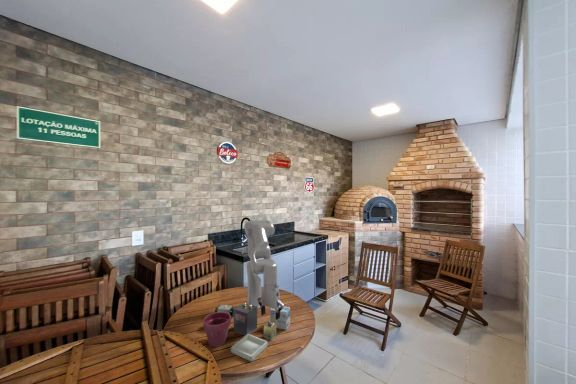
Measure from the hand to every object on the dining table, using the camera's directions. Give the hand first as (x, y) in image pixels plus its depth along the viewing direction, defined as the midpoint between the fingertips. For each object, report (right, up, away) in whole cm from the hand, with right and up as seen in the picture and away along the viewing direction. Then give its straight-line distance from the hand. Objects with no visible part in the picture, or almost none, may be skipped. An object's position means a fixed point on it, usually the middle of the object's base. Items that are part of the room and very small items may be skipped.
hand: (270, 316), depth 135 cm
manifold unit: (-15, -11, +7) cm, 20 cm away
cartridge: (0, -12, +1) cm, 12 cm away
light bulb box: (+5, -12, +12) cm, 17 cm away
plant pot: (-28, -12, -3) cm, 31 cm away
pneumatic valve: (-28, -12, +13) cm, 33 cm away
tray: (-10, -12, -10) cm, 18 cm away
